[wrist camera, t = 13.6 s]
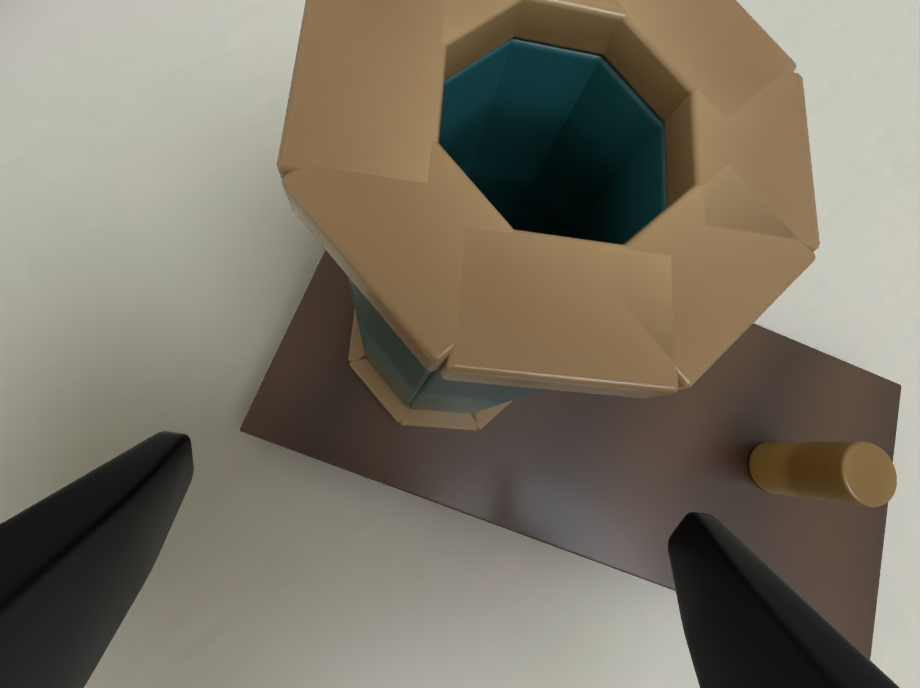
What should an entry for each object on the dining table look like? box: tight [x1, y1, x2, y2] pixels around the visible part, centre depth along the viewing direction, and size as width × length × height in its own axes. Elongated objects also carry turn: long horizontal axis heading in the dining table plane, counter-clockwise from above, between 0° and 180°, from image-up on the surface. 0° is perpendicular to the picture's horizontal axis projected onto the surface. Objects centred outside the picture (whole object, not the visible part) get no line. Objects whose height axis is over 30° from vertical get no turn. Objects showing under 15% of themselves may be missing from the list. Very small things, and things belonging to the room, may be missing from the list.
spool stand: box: [240, 250, 901, 660], centre depth 15 cm, size 22×10×5 cm, turn 70°
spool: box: [277, 0, 820, 431], centre depth 10 cm, size 6×6×11 cm
